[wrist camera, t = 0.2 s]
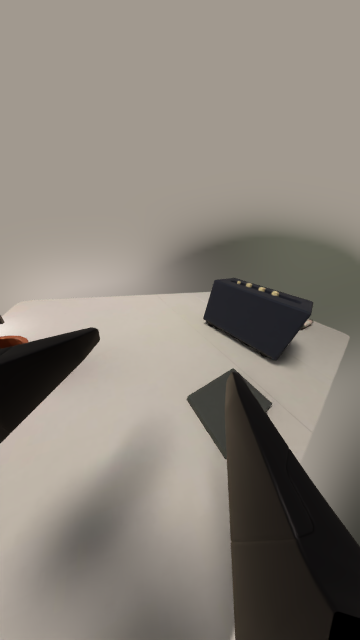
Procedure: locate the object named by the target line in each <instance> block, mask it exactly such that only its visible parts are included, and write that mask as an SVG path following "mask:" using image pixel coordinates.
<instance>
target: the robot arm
mask: <svg viewBox="0 0 360 640" xmlns="http://www.w3.org/2000/svg"><path fill="white" fill-rule="evenodd" d="M99 340H100V337H99V331H98V329H96V328H87V329H82V330H78V331H74V332H70V333H66V334H61V335H57V336H53V337H49V338H45V339H40V340H36V341H32V342H28V343H23V344H19V345H15V346H11V347H6V348H2V349H0V443H1V442H2V441H3V440H4V439H5V438H6V437H7V436H8V435H9V434H10V433H11V432H12V431H13V430H14V429H15V428H16V427H17V426H18V425H19V424H20V423H21V422H22V421H23V420H24V419H25V418H26V417H27V416H28V415H29V414H30V413H31V412H32V411H33V410H34V409H35V408H36V407H37V406H38V405H39V404H40V403H41V402H42V401H43V400H44V399H45V398H46V397H47V396H48V395H49V394H50V393H51V392H52V391H53V390H54V389H55V388H56V387H57V386H58V385H59V384H60V383H61V382H62V381H63V380H64V379H65V378H66V377H67V376H68V375H69V374H70V373H71V372H72V371H73V370H74V369H75V368H76V367H77V366H78V365H79V364H80V363H81V362H82V361H83V360H84V359H85V358H86V357H87V355H88V354H89V353H90V352H91V351H92V349H93V348H94V347H95V346H96V345H97V343H98V342H99ZM225 430H226V450H227V471H228V492H229V513H230V534H231V557H232V578H233V599H234V620H235V640H360V546H359V545H358V544H357V542H356V541H355V540H354V538H353V537H352V536H351V534H350V533H349V532H348V530H347V529H346V527H345V526H344V525H343V523H342V522H341V521H340V519H339V518H338V517H337V515H336V514H335V513H334V511H333V510H332V508H331V507H330V506H329V505H328V503H327V502H326V500H325V499H324V497H323V496H322V495H321V493H320V492H319V490H318V489H317V488H316V486H315V485H314V484H313V482H312V481H311V479H310V478H309V476H308V475H307V473H306V472H305V471H304V469H303V468H302V466H301V465H300V463H299V462H298V460H297V459H296V457H295V456H294V454H293V453H292V451H291V450H290V449H289V447H288V445H287V444H286V442H285V441H284V439H283V438H282V436H281V435H280V433H279V432H278V430H277V429H276V427H275V426H274V424H273V423H272V421H271V420H270V418H269V417H268V415H267V414H266V412H265V411H264V409H263V408H262V406H261V405H260V403H259V402H258V400H257V399H256V397H255V396H254V394H253V393H252V391H251V390H250V388H249V387H248V385H247V384H246V382H245V381H244V379H243V378H242V376H241V375H240V374H239V373H236V372H231V374H230V376H229V378H228V379H227V382H226V396H225Z"/></svg>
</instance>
